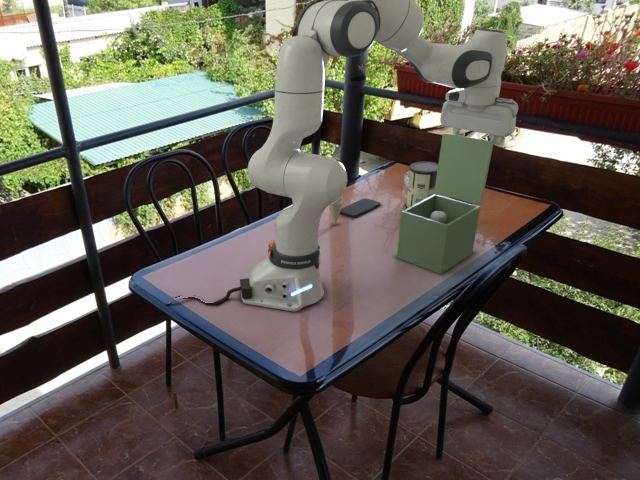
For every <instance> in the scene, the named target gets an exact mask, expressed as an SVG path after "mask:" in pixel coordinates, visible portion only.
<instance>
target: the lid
mask: <svg viewBox="0 0 640 480" xmlns="http://www.w3.org/2000/svg"><path fill="white" fill-rule="evenodd" d="M494 143H495V141H494V142H491V141H490V140H485V139H480V138H475V137H469V136H464V135H461V136H459V135H454V133H448V132H443V133H442V137H441V144H440V150H439V157H438V163H437V164H438V170H437V177H436V184H435V191H434V193H437V194H438V195H440V196H443V197H447V198H450V197H451V198H455V199H459V200H462V201H466V202H470V203H473V204H472V205H476V206H482V204H483V199H484V195H485V190H486V184H487V179H488V174H489V168H490V163H491V159H492V153H493V148H494V145H495V144H494Z"/></svg>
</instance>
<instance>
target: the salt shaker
mask: <svg viewBox="0 0 640 480" xmlns="http://www.w3.org/2000/svg"><path fill="white" fill-rule="evenodd" d="M446 218H447V215H446V213H445V212H442V211H434V212H433V213H432V214H431V217H430V219H431V220H435V221H438V222H441V223H443V222H445V221H446Z"/></svg>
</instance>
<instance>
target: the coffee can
mask: <svg viewBox="0 0 640 480" xmlns="http://www.w3.org/2000/svg"><path fill="white" fill-rule="evenodd" d="M437 170H438V163H437V162H434V161H416V162H413V163H411V164H410V165H409V176H408V186H407V195H406V196H407V197H406V208H409V207H411V206H413V205H415V204H417V203H419V202H420V201H422V200H424V199H426V198H428V197H430V196H432V195H434V194H436V195H439V194H437V193H434V191H435V184H436V177H437Z"/></svg>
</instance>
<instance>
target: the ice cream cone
mask: <svg viewBox="0 0 640 480" xmlns="http://www.w3.org/2000/svg"><path fill="white" fill-rule="evenodd" d="M343 204H344V195H343V194H342V195H341V197H340V198H339V199H338V200H336V201H335V202H333V203H331V204H330V205H329V206H328V207H329V210H330V213H331V218H332V221H333V225H337V222H338V220H339V216H340V214H341V213H340V210H341V209H342V208H343Z"/></svg>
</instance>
